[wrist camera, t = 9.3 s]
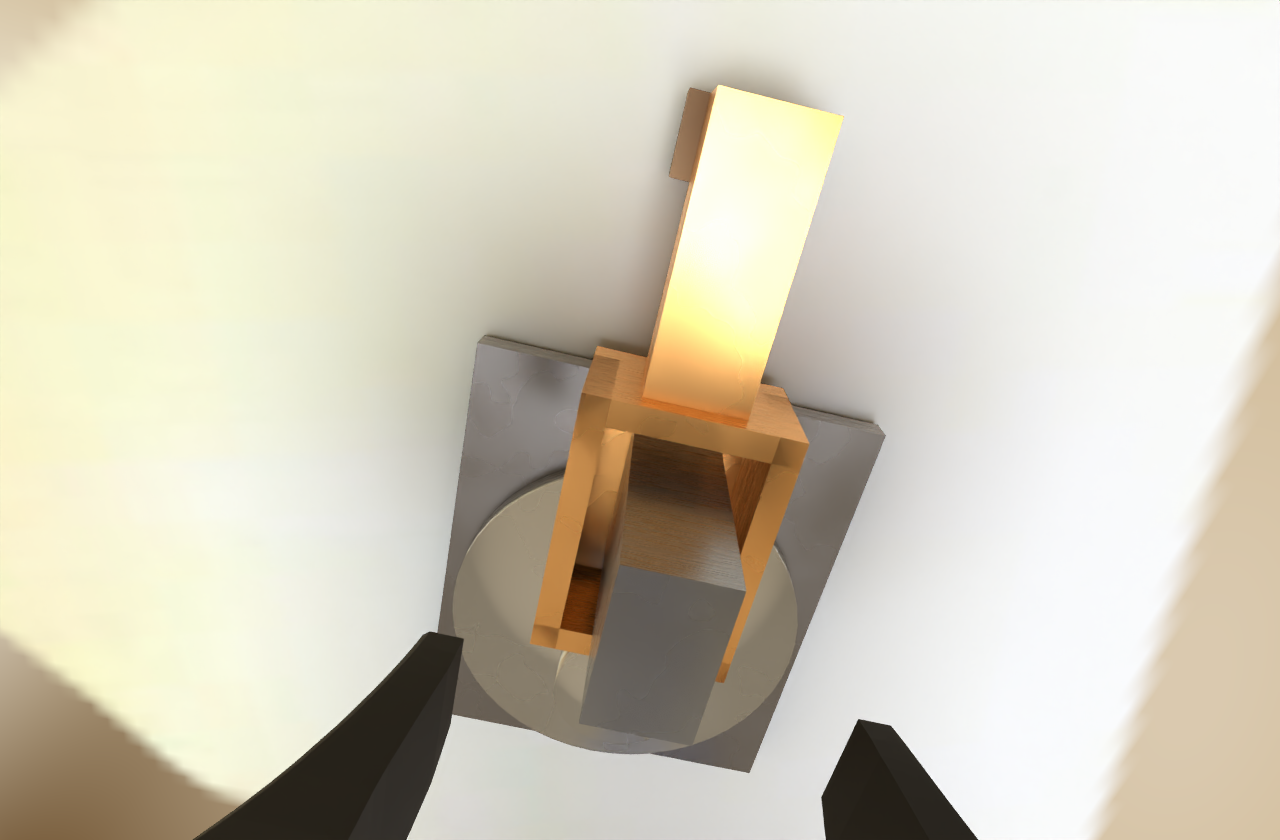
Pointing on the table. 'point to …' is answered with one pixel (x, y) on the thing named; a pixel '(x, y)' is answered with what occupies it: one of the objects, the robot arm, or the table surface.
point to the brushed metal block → (664, 594)
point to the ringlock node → (669, 410)
